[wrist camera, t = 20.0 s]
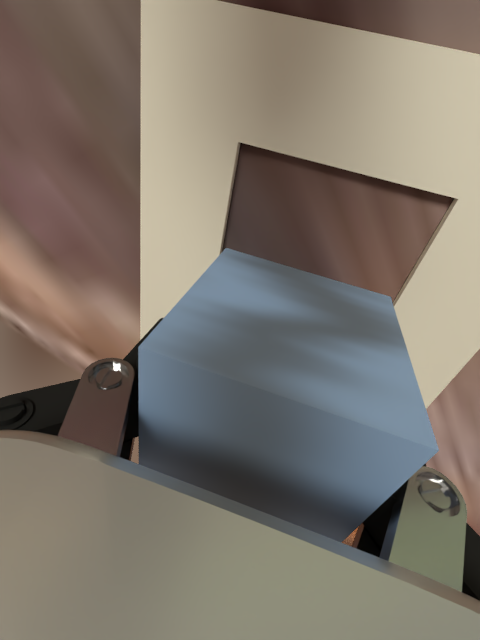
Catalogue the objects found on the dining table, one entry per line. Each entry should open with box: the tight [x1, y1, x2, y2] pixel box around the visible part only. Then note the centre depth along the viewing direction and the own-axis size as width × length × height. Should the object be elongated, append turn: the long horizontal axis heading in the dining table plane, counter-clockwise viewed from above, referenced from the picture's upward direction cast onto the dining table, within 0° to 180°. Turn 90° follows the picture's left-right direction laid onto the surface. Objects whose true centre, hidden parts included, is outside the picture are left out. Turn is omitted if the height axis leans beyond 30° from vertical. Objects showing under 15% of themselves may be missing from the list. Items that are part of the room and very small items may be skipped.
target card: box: [140, 0, 480, 408], centre depth 16 cm, size 18×20×1 cm
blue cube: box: [138, 248, 439, 542], centre depth 10 cm, size 6×6×6 cm
